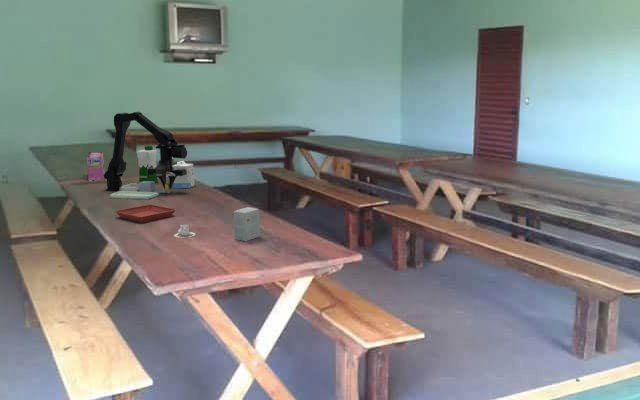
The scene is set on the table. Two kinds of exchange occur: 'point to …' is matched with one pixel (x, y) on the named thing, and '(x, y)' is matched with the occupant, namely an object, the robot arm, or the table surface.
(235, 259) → the table surface
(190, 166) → the ink box
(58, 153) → the table surface
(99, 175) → the pink product box
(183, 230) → the charger with coiled cable
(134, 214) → the plant saucer
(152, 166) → the milk carton
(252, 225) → the small box
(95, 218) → the table surface
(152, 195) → the tray
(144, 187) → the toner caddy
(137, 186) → the frame
